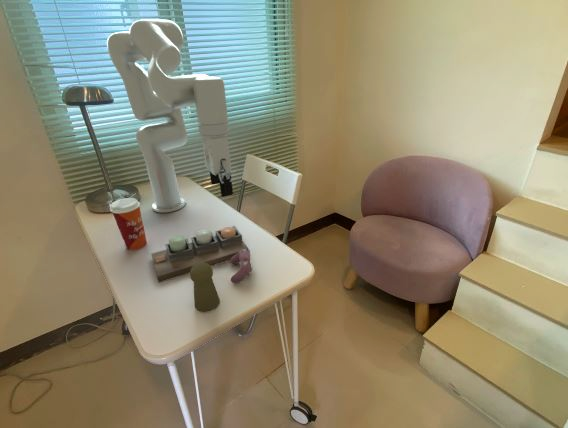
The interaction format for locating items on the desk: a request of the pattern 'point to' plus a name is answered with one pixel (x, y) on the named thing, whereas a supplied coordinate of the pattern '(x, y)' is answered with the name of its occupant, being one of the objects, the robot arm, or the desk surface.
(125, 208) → the coffee cup
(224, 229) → the brown egg
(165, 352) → the desk surface
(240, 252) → the video game controller
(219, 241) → the board
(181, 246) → the pale green egg
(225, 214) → the desk surface
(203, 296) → the olive green skittle
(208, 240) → the white egg
